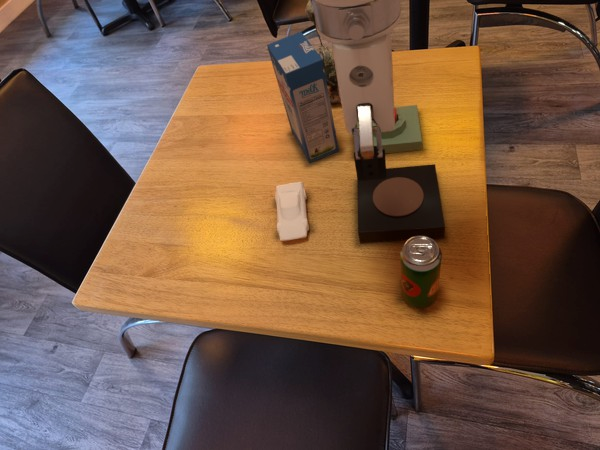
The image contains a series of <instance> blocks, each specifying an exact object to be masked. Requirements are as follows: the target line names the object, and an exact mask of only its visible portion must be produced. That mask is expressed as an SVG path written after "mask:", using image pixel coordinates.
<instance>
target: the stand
mask: <svg viewBox="0 0 600 450" xmlns="http://www.w3.org/2000/svg"><path fill="white" fill-rule="evenodd" d="M356 180H357V181H356V182H357V183H356V184H357V185H356V186H357V188H356V189H357V190H356V191H357V192H356V193H357V234H358V235H357V236H358V241H359V243H360V244H363V243H364V244H365V243H381V242H383V243H384V242H400V241H401V242H402V241H408V240H409V239H410V238H412V237H415V236H426V237H429V238H431V239H433V240H434V239H444V238H445V228H446V225H445V219H444V213H443V206H442V200H441V193H440V187H439V181H438V174H437V166H436V164H434V163H432V164H421V165H409V166H398V167H389V168H387V167H386V178H385V179H376V180H364V181H359V180H358V179H357V178H356Z"/></svg>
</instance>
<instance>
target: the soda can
mask: <svg viewBox="0 0 600 450" xmlns="http://www.w3.org/2000/svg"><path fill="white" fill-rule="evenodd" d="M442 261H443V253H442V249H441V248H440V246H439V245H438V243H437V242H436V241H435V240H434V239H431V238H429V237H426V236H415V237H412V238H410V239H409V240H406V242H405V243H404V244H403V245H402V246H401V249H400V251H399V262H400V263H399V264H400V265H399V266H400V286H401V287H400V288H401V289H400V290H401V297H402V299H403V301H404V302H405V303H406V304H407V305H408V306H409V307H412V308H414V309H419V310H424V309H427V308H430V307H432V306H433V305H434V304H435V303H436V302H437V300H438V296H439V290H440V289H439V288H440V281H441V278H440V277H441V272H442V271H441V270H442Z"/></svg>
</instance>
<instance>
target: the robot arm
mask: <svg viewBox="0 0 600 450" xmlns="http://www.w3.org/2000/svg"><path fill="white" fill-rule="evenodd" d="M401 3H402V1H401V0H312V4H313V10H314V15H315V22H316V27H317V31H316V33H317V32H318V33H317V35H318V34H319V35H320V39H321V40H323V41H326V42H327V43H330V44H331V46H332V47H331V48H332V49H333V54H334V61H335V68H336V74H337V80H338V87H339V93H340V98H341V109H342V115H343V119H344V124H345V128H346V132H347V133H348V134H349V135H351V136H353V143H355V145H354V152H353V159H354V166H355V173H356V180H357V179H358V180H359V181H364V180H376V179H385V178H386V169H387V163H386V153H385V149H383V150H382V138H381V130H382V131H383V132H387V131H389V132H390V131H392V130H393V129H394V127H395V114H394V107H395V95H394V92H395V91H394V69H393V67H394V66H393V48H392V35H391V32H393V30H395V29H396V28H397V26H398V25H399V23H400V22H401V17H402V10H401V8H402V4H401ZM373 120H375V121H376V123H377V126H372V121H373ZM357 121H358V122H359V128H357ZM375 132H376V141H377V146H374V143H373V133H375Z"/></svg>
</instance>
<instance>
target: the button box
mask: <svg viewBox="0 0 600 450" xmlns="http://www.w3.org/2000/svg"><path fill="white" fill-rule="evenodd" d="M394 108H395V109H396V110H397V121H396V123H395V127H394V129H393V130H392V131H390V132H389V131H387V132H383V131H382V130H381V138H382V150H383V149H385V154H392V153H393V154H395V153H402V152H403V153H405V152H414V151H422V149H423V138H422V132H421V131H422V130H421V123H420V118H419V108H418V105H417V104H412V105H405V106H404V105H403V106H394ZM372 126H377V124H376V123H375V120H373V121H372ZM357 128H359V122H358V121H357ZM353 143H354V142H353ZM373 143H374V146H377V141H376V132H375V133H373ZM354 146H355V143H354Z"/></svg>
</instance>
